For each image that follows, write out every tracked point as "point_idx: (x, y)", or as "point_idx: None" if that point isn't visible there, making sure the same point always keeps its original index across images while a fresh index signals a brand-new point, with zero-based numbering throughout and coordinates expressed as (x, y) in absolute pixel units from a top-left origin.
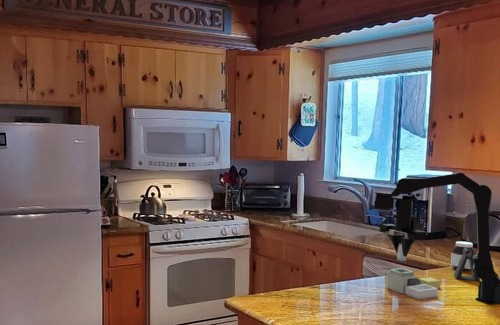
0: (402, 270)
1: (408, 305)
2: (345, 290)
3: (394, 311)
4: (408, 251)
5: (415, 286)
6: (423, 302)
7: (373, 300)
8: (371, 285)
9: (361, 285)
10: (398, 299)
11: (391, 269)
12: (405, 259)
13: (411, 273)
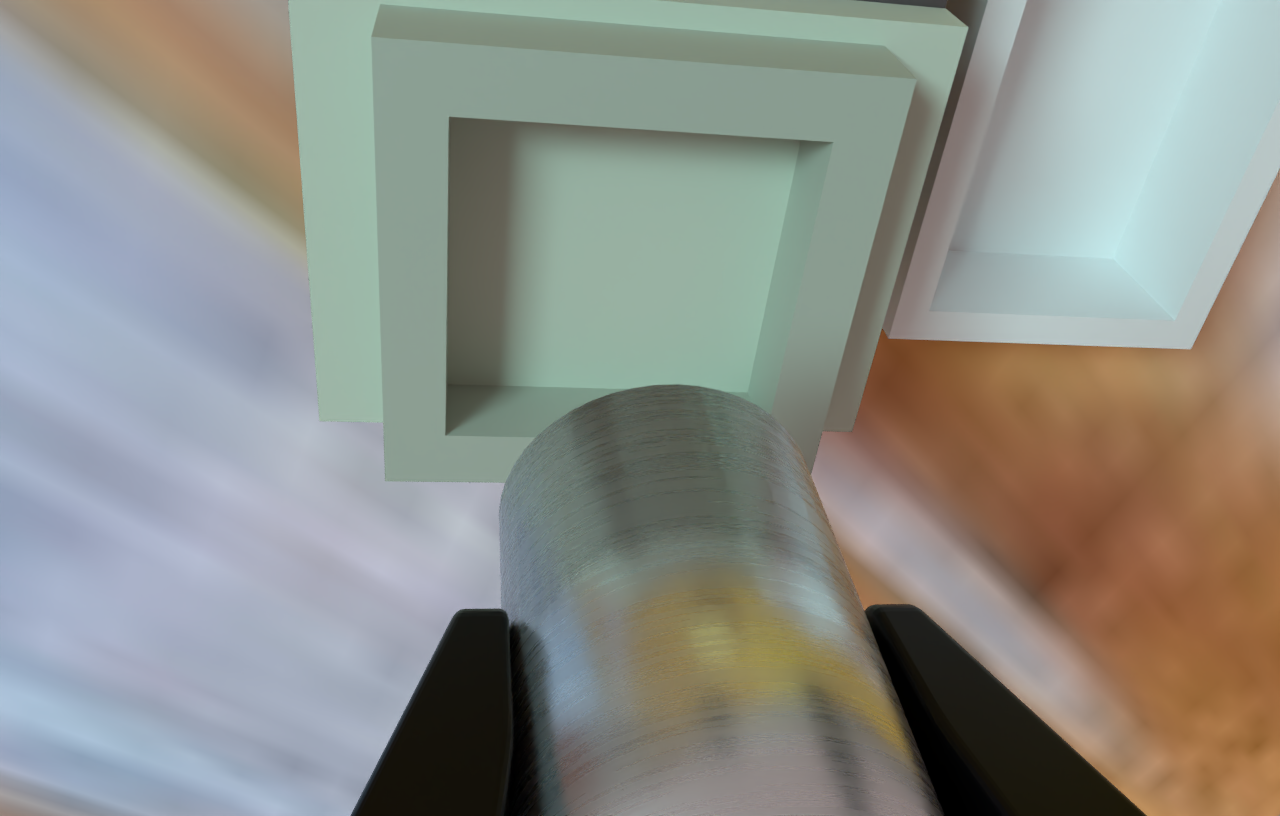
0: (475, 101)
1: (1137, 545)
2: (304, 788)
3: (1125, 752)
4: (1080, 766)
5: (977, 123)
6: (1231, 299)
7: None
8: (132, 382)
9: (100, 519)
10: (922, 497)
11: (415, 449)
12: (821, 507)
13: (882, 160)
